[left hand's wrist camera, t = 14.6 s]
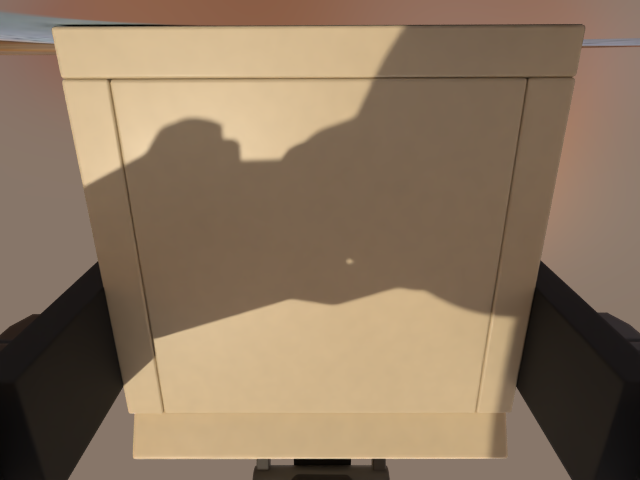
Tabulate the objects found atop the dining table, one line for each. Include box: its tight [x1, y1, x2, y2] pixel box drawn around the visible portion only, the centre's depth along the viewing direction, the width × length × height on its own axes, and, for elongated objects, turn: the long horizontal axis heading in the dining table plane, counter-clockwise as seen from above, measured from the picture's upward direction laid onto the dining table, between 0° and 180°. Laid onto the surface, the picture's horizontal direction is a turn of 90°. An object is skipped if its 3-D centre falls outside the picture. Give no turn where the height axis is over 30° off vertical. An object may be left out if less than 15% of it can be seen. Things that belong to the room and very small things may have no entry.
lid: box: [133, 411, 508, 480], centre depth 20 cm, size 17×10×8 cm, turn 1°
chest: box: [52, 24, 585, 413], centre depth 17 cm, size 17×10×9 cm, turn 0°
